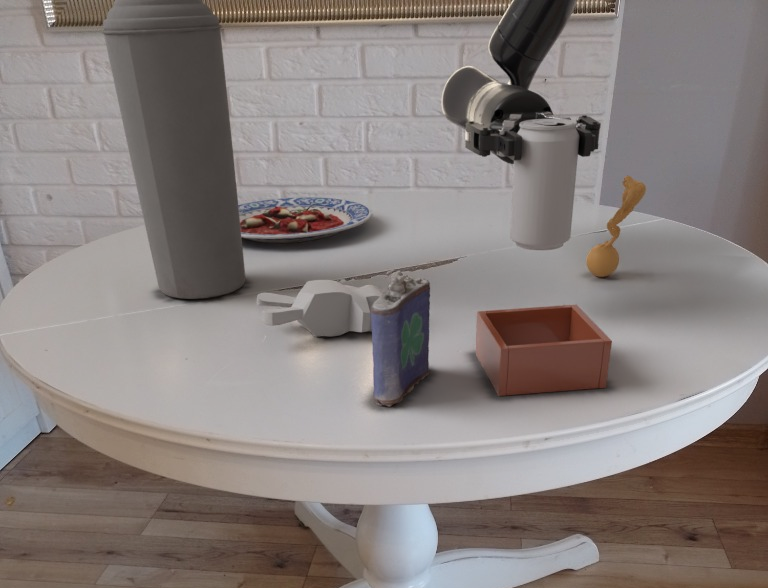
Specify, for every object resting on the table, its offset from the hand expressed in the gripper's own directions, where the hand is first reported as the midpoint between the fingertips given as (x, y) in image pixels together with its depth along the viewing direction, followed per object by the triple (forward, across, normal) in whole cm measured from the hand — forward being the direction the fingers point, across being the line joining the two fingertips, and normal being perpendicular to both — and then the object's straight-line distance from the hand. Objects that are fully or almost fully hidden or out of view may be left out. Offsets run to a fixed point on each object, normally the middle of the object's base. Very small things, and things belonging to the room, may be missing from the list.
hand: (553, 147), depth 78 cm
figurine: (-13, +13, +18) cm, 25 cm away
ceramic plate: (-47, -27, +18) cm, 57 cm away
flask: (+15, -18, +18) cm, 29 cm away
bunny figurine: (-1, -23, +18) cm, 29 cm away
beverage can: (-2, 0, +10) cm, 10 cm away
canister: (-20, -38, +18) cm, 47 cm away
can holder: (+14, -4, +17) cm, 23 cm away
